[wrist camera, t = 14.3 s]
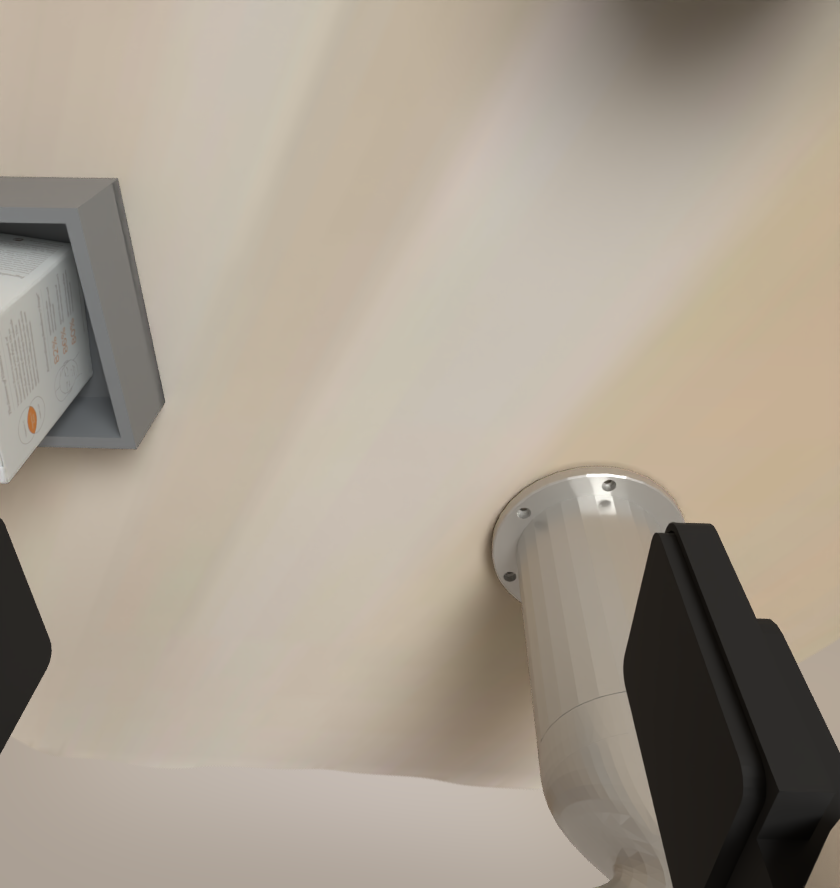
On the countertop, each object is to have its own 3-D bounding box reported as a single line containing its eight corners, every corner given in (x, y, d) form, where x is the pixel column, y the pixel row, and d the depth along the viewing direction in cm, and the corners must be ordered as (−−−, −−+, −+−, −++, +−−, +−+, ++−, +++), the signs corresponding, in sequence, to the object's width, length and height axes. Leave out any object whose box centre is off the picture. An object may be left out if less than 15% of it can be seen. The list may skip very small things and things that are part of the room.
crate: (117, 178, 38) (77, 208, 34) (165, 401, 45) (136, 449, 41) (-119, 174, 38) (-188, 203, 34) (-34, 397, 45) (-82, 444, 41)
